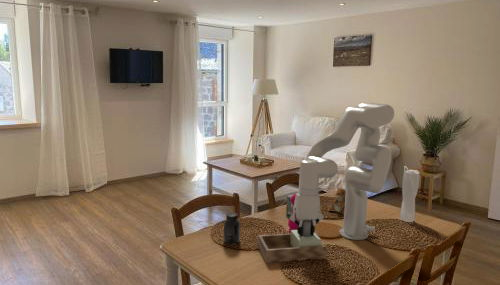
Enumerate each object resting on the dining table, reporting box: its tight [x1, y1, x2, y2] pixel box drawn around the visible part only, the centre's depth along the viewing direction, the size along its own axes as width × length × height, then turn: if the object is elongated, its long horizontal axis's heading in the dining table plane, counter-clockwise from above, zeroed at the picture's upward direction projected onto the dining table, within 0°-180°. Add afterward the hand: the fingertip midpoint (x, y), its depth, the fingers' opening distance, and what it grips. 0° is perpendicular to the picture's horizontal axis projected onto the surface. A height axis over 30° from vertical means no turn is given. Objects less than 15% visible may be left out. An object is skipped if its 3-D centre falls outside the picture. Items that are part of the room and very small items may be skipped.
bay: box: [257, 233, 327, 264], centre depth 150 cm, size 24×14×5 cm, turn 102°
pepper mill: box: [287, 190, 299, 234], centre depth 168 cm, size 7×7×20 cm
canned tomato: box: [285, 193, 295, 219], centre depth 190 cm, size 8×8×11 cm
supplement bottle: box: [223, 212, 241, 245], centre depth 159 cm, size 7×7×12 cm
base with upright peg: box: [290, 219, 322, 247], centre depth 151 cm, size 9×11×12 cm
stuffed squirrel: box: [327, 187, 346, 214], centre depth 200 cm, size 10×14×13 cm
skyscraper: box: [398, 165, 420, 223], centre depth 186 cm, size 8×8×28 cm
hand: (305, 234), depth 151 cm, fingers open, 4 cm apart
